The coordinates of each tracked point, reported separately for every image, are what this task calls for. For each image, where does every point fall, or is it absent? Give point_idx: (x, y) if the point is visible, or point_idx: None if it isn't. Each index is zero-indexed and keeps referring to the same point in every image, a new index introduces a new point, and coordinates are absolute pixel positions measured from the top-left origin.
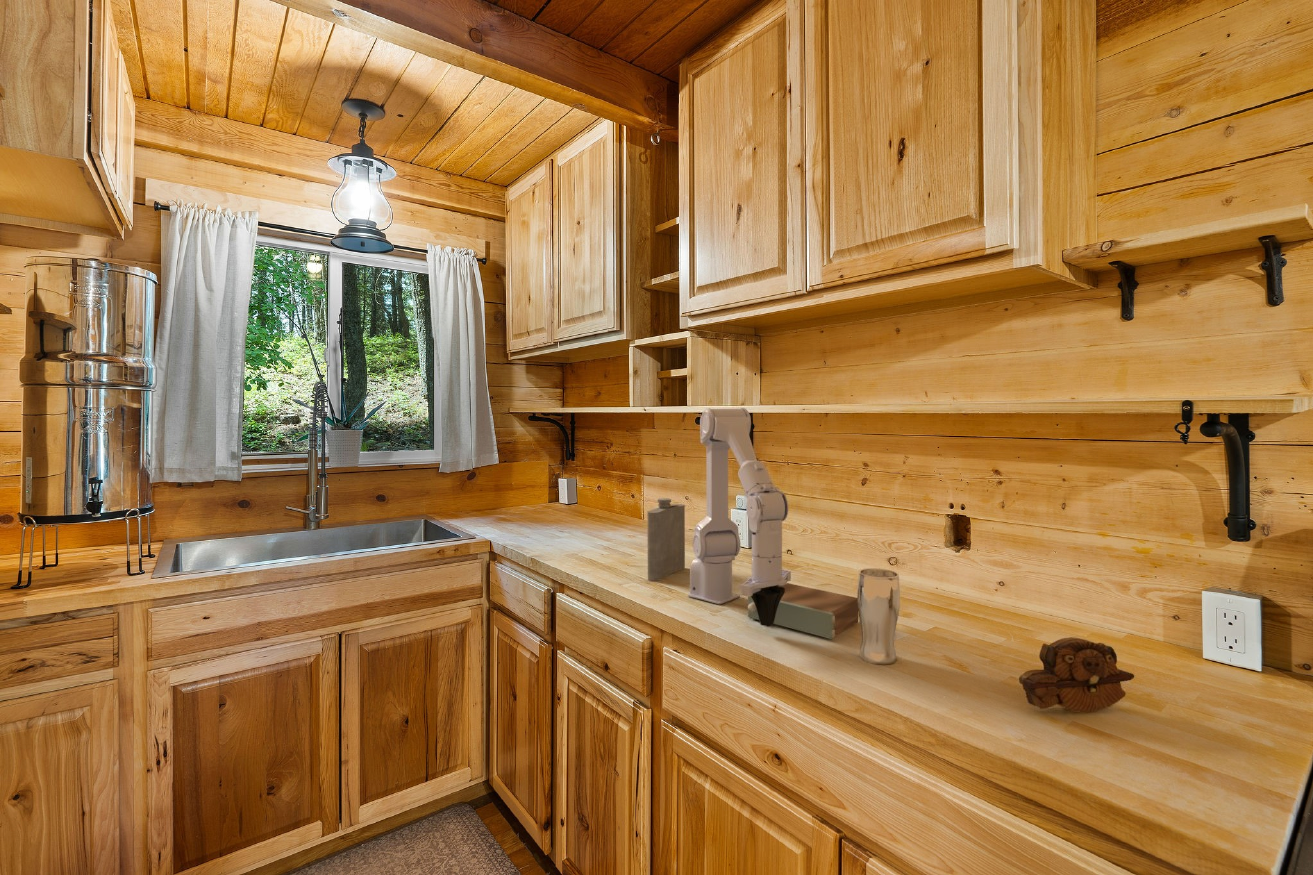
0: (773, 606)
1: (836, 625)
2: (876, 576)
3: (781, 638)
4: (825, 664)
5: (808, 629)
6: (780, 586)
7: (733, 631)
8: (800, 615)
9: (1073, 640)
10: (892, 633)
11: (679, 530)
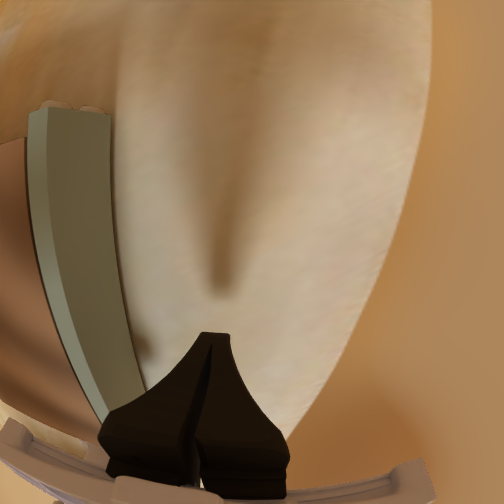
0: (214, 387)
1: None
2: None
3: (211, 273)
4: (341, 39)
5: (105, 217)
6: (15, 400)
7: (260, 394)
8: (85, 274)
9: None
10: None
11: None
